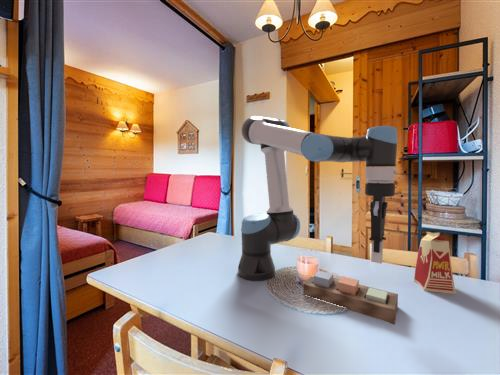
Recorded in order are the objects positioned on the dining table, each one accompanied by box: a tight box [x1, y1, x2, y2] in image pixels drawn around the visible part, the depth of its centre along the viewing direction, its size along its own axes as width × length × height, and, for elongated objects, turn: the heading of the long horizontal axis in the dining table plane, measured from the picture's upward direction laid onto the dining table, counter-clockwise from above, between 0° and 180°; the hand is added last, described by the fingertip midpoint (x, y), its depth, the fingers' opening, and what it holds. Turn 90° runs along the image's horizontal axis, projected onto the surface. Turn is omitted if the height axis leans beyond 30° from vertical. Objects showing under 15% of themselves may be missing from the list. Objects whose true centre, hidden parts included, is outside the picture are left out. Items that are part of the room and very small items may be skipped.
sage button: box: [366, 286, 389, 304], centre depth 71 cm, size 5×5×4 cm
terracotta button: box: [338, 275, 360, 296], centre depth 75 cm, size 5×5×4 cm
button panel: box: [302, 276, 399, 325], centre depth 76 cm, size 26×10×4 cm, turn 54°
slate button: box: [313, 270, 334, 288], centre depth 80 cm, size 5×5×4 cm
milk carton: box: [413, 231, 457, 295], centre depth 84 cm, size 9×9×20 cm
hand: (376, 261), depth 70 cm, fingers closed
